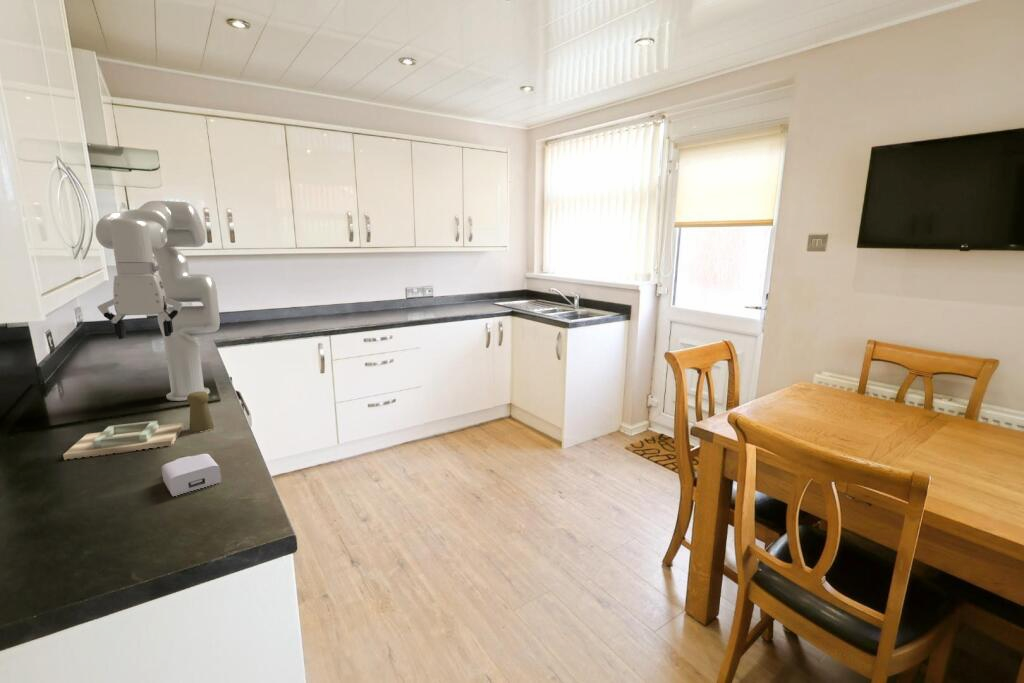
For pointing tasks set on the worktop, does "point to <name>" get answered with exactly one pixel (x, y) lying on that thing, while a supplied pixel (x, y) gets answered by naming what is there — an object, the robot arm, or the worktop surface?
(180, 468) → the charger
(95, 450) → the socket board
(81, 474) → the worktop surface
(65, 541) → the worktop surface
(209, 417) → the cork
